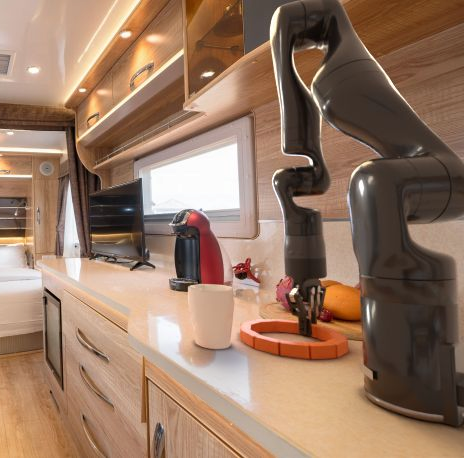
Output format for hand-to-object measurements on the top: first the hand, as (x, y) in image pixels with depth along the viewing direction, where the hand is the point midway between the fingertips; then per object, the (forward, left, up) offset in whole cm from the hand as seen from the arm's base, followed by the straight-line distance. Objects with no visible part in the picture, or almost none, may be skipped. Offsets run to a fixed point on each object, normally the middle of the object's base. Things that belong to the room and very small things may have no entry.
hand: (308, 333), depth 73 cm
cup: (+9, +21, 0) cm, 23 cm away
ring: (0, +8, 0) cm, 8 cm away
